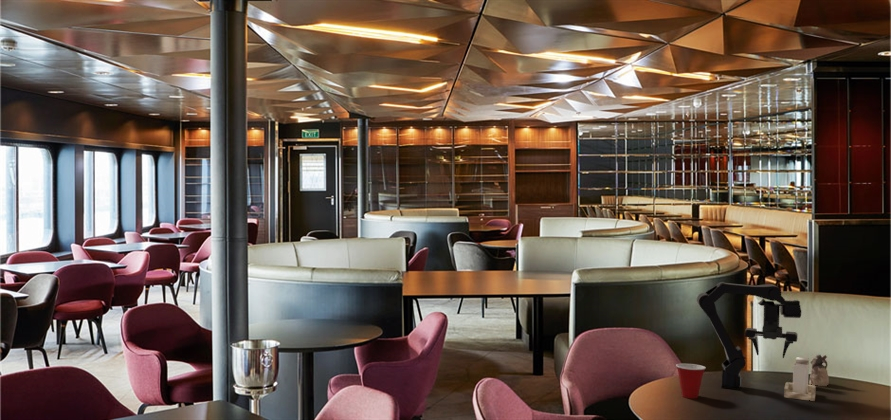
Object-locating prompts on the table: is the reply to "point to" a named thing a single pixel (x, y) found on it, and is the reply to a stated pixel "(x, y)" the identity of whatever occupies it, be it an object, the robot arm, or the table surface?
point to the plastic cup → (690, 379)
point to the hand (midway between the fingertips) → (770, 356)
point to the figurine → (819, 371)
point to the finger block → (800, 378)
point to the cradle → (790, 394)
